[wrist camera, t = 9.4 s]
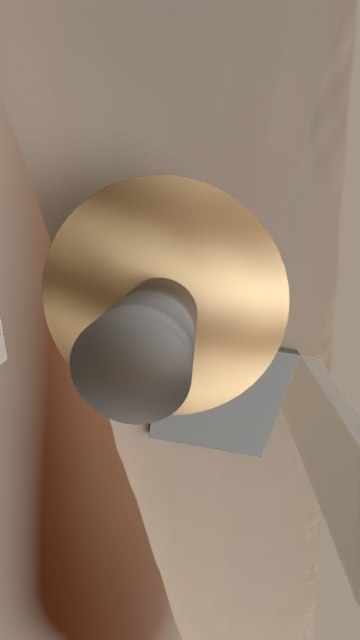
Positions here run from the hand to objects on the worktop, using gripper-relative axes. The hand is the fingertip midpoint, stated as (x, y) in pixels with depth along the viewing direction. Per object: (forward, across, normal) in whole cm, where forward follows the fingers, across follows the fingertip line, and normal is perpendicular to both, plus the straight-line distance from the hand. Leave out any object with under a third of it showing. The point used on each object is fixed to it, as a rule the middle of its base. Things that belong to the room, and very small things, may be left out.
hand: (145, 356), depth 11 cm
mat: (+18, +7, -16) cm, 25 cm away
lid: (+6, 0, 0) cm, 6 cm away
